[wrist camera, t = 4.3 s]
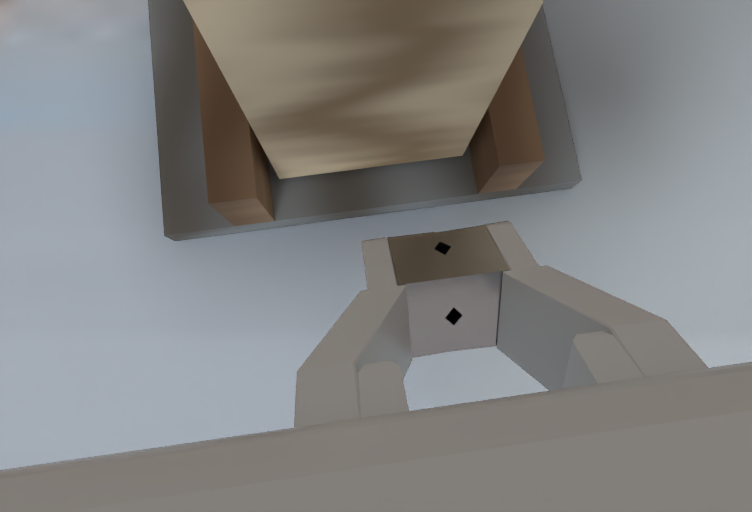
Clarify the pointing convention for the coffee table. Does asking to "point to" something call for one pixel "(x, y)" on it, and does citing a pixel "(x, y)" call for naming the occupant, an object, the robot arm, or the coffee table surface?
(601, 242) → the coffee table surface
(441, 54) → the block
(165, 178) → the chute
